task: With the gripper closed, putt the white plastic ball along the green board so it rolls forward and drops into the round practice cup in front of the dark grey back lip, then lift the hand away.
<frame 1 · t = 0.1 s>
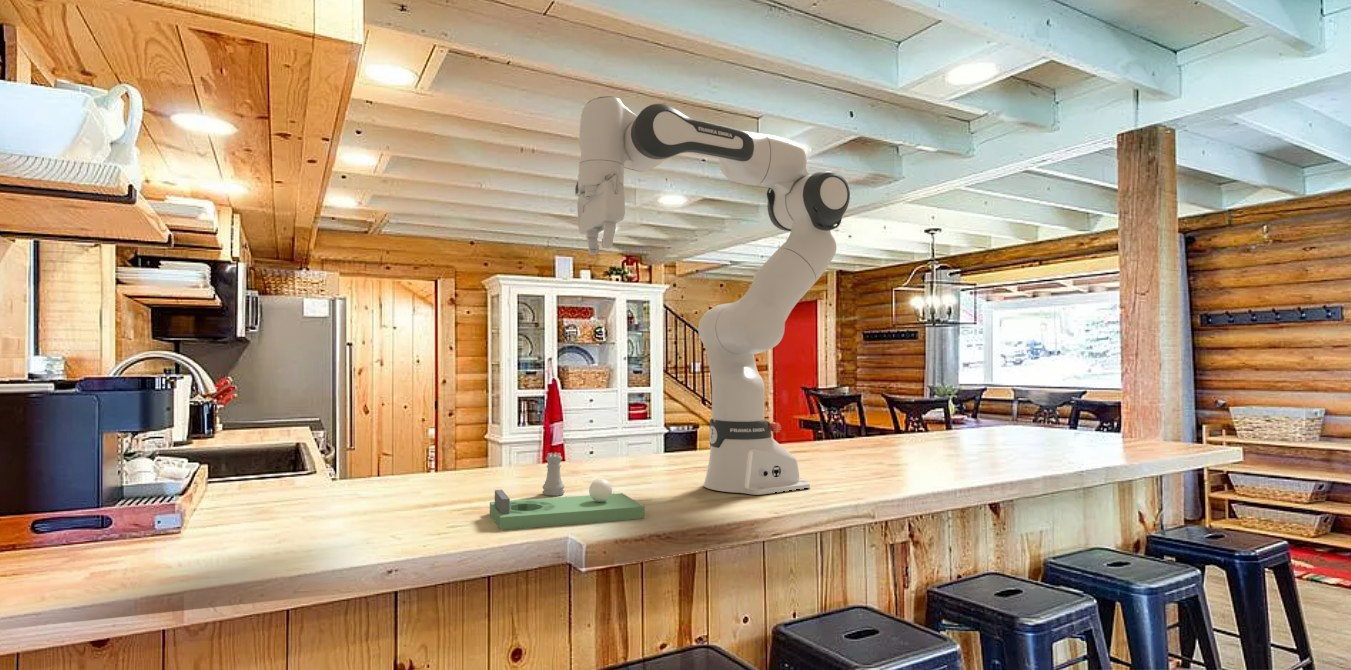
hand: (600, 251, 139), 48 cm above the table, fingers open, 8 cm apart
ball: (600, 490, 124), point 4 cm above the table, touching green board
green board: (566, 516, 122), on the table
rook chess piece: (553, 495, 140), on the table
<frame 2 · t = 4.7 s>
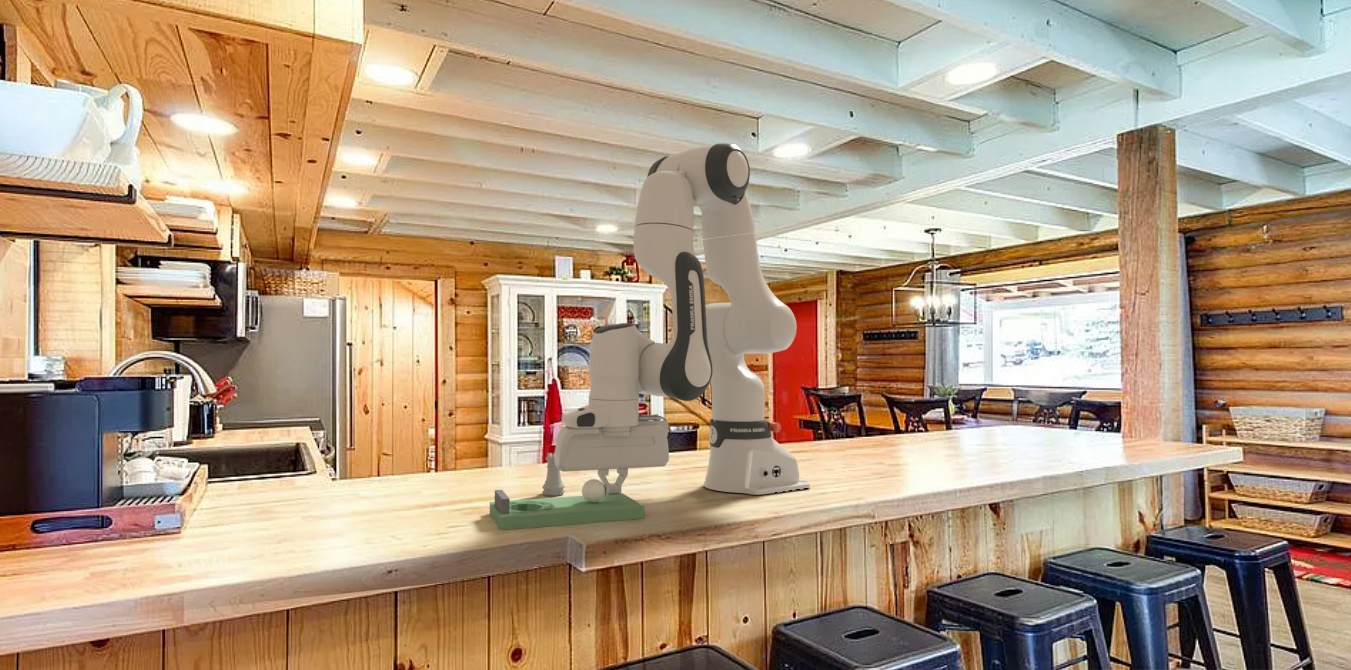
hand: (612, 494, 125), 3 cm above the table, fingers closed
ball: (593, 490, 124), point 4 cm above the table, tilted 37°, touching gripper, green board
everything else where it was.
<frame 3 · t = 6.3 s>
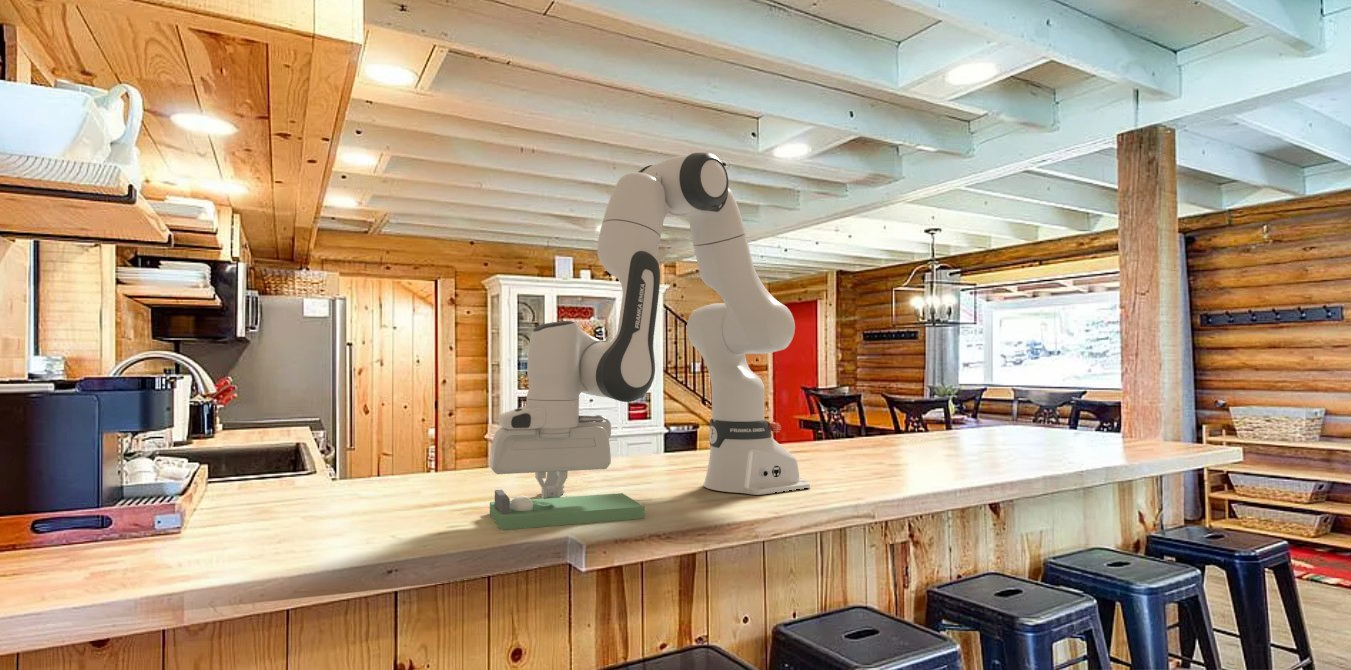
hand: (550, 497, 121), 3 cm above the table, fingers closed
ball: (521, 507, 119), point 2 cm above the table, tilted 54°
everything else where it was.
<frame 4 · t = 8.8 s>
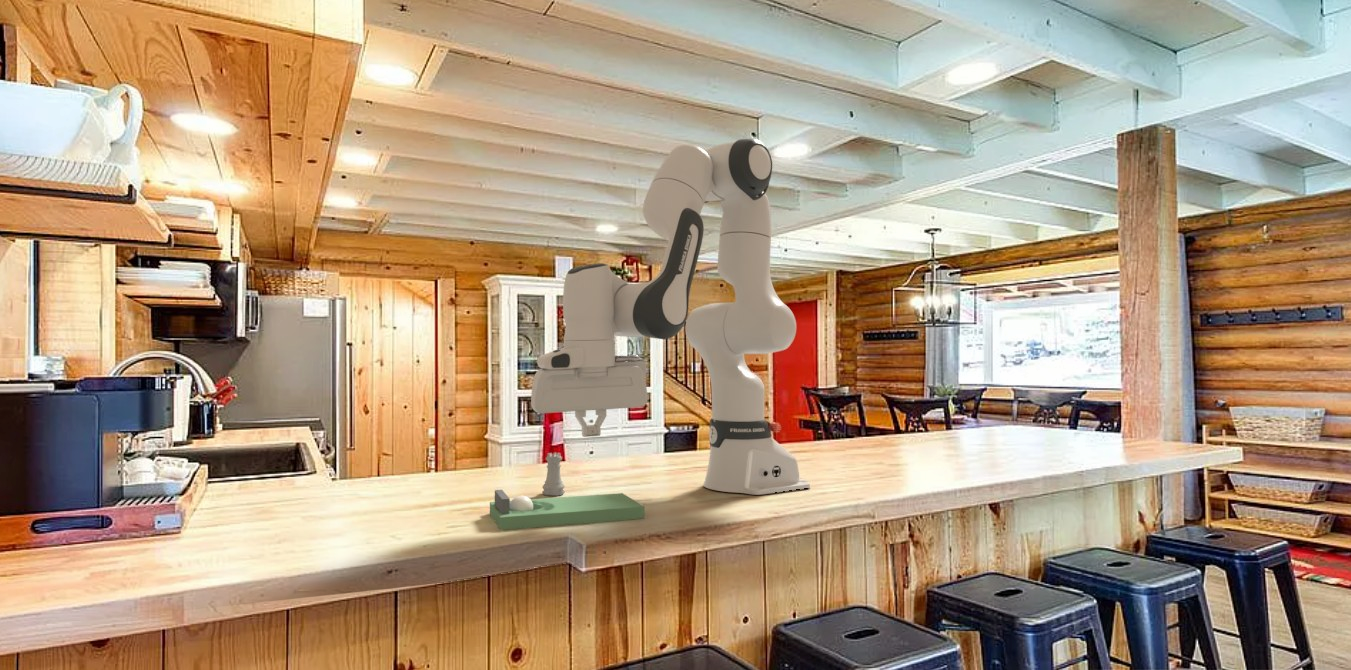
hand: (591, 436, 124), 13 cm above the table, fingers closed
nothing on the table moved.
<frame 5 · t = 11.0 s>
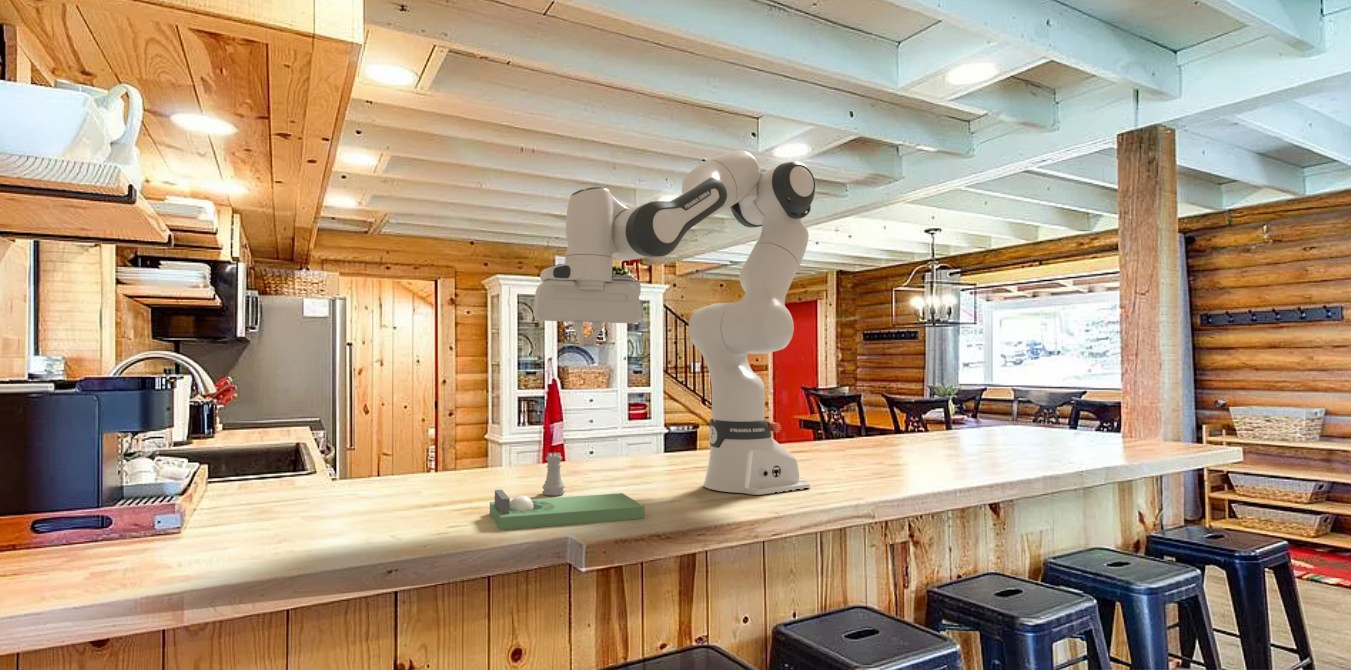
hand: (587, 346, 134), 29 cm above the table, fingers closed
nothing on the table moved.
at the end: ball 0.7 cm from the target spot in the green board, point 2.0 cm above the green board's base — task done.
